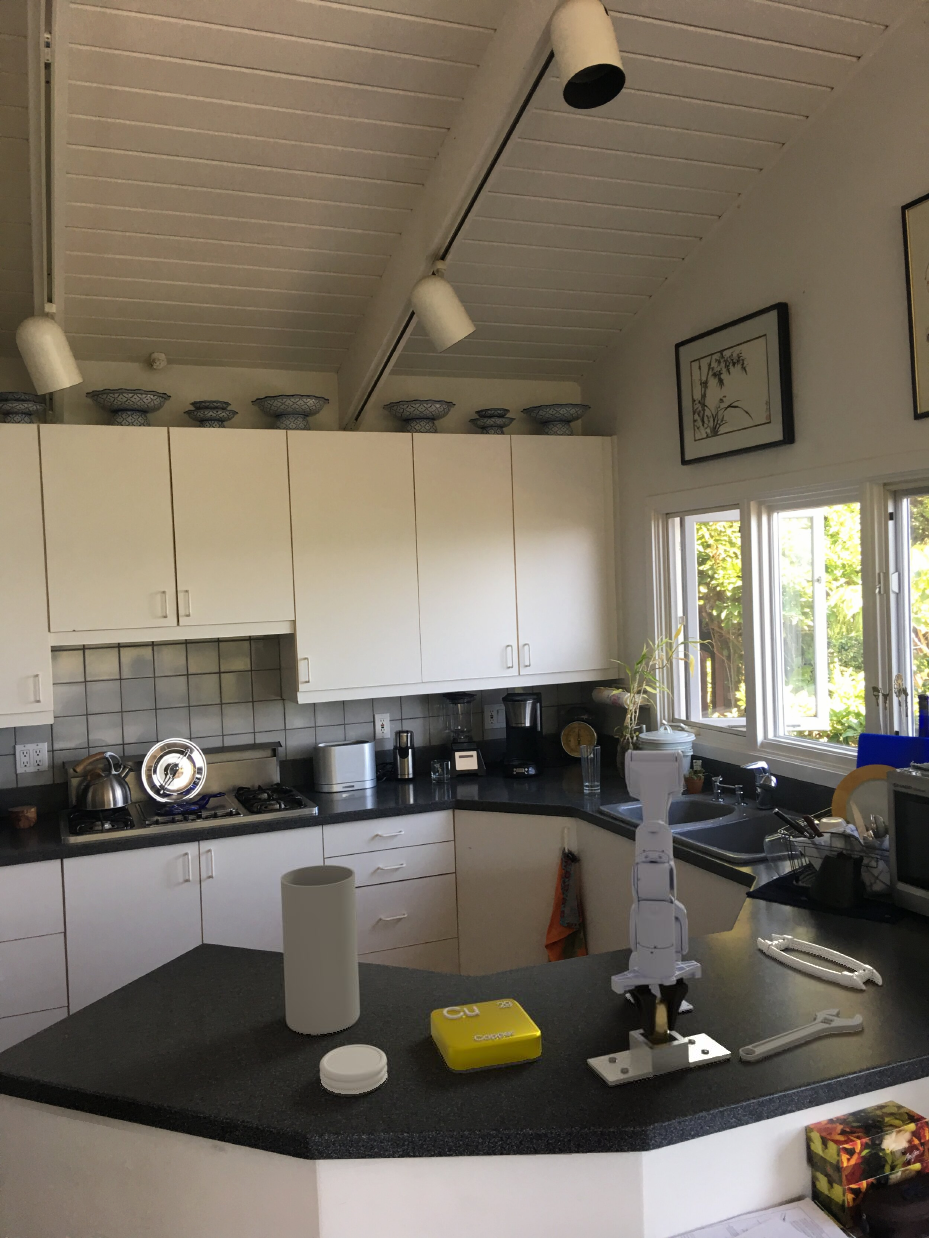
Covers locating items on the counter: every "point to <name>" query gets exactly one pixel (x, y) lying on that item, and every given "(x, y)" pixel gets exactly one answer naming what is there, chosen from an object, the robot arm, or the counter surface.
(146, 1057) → the counter surface
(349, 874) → the cylinder vase
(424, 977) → the counter surface
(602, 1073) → the mounting bracket
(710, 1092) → the counter surface
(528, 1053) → the element tile
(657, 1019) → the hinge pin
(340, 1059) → the white end cap
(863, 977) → the white tongs
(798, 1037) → the adjustable wrench
